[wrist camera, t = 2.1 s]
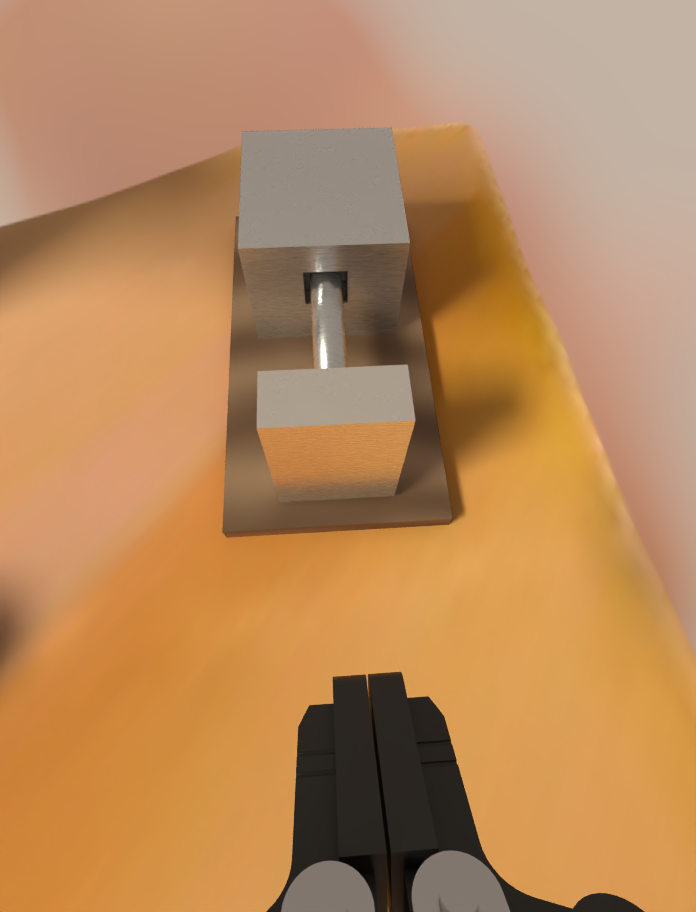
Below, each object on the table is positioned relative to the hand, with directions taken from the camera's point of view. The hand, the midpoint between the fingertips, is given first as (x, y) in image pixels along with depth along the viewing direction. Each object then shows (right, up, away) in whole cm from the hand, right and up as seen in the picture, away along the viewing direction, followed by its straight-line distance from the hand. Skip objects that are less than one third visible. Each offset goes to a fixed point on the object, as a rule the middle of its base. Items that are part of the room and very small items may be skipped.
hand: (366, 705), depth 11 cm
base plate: (-2, +13, +26) cm, 29 cm away
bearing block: (-2, +19, +28) cm, 34 cm away
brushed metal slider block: (-2, +12, +24) cm, 27 cm away
